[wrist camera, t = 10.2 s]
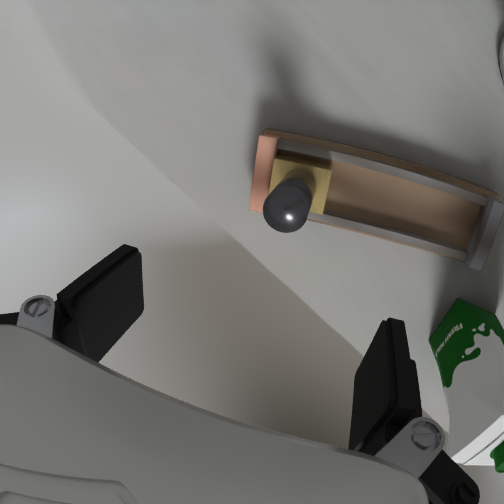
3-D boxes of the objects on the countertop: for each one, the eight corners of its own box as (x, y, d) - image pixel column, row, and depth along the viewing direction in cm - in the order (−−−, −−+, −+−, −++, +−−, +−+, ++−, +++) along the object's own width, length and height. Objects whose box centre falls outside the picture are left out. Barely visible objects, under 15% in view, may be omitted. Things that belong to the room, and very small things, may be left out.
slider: (280, 153, 29) (252, 174, 20) (333, 165, 28) (329, 190, 19) (273, 193, 31) (244, 230, 22) (324, 205, 30) (315, 247, 21)
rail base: (267, 128, 30) (257, 131, 27) (494, 192, 26) (510, 203, 22) (256, 203, 34) (245, 214, 30) (471, 259, 29) (482, 275, 26)
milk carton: (467, 359, 34) (496, 484, 17) (418, 343, 35) (436, 483, 18) (503, 310, 30) (559, 434, 13) (454, 288, 31) (508, 429, 14)
